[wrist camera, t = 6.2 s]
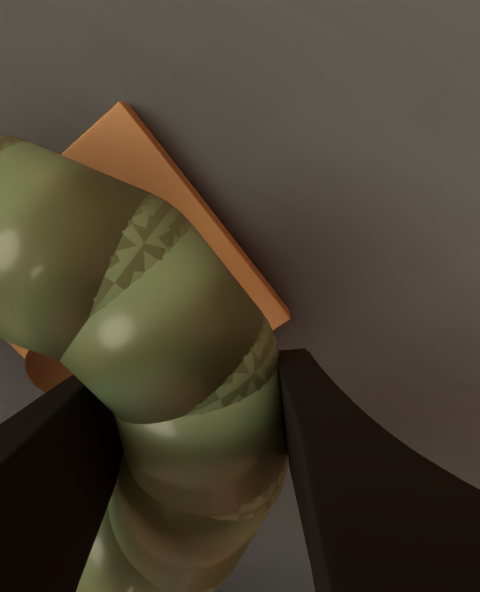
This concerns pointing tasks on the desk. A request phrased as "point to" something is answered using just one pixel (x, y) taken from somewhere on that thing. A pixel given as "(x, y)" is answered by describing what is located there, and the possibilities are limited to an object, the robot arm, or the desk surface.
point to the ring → (147, 365)
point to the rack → (172, 188)
